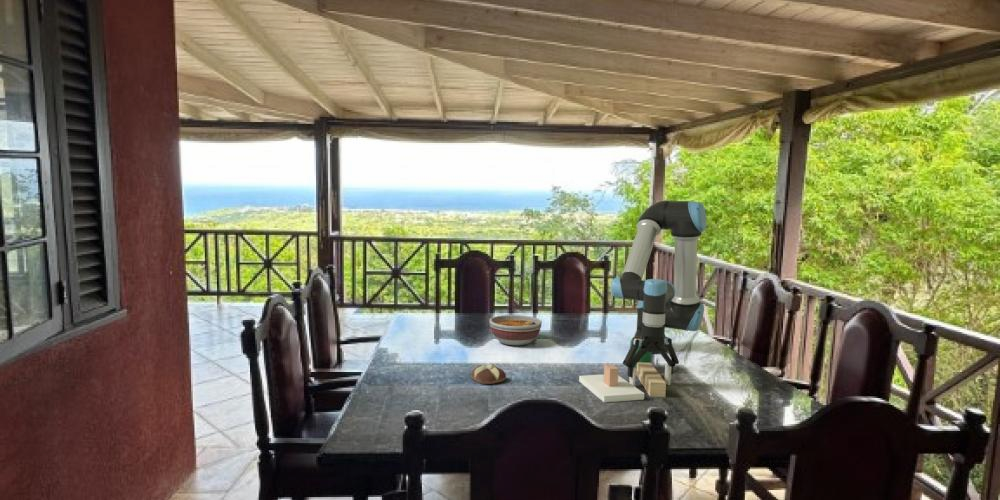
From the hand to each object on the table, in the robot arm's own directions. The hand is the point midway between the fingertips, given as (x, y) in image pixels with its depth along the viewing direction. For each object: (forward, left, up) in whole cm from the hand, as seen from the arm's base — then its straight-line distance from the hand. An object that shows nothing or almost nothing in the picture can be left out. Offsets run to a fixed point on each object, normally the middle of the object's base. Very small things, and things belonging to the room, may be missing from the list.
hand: (649, 384), depth 189 cm
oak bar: (0, 0, -1) cm, 1 cm away
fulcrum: (+16, +2, 0) cm, 16 cm away
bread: (+54, -15, -1) cm, 56 cm away
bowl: (+31, -61, 0) cm, 69 cm away
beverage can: (-5, -16, 0) cm, 17 cm away
